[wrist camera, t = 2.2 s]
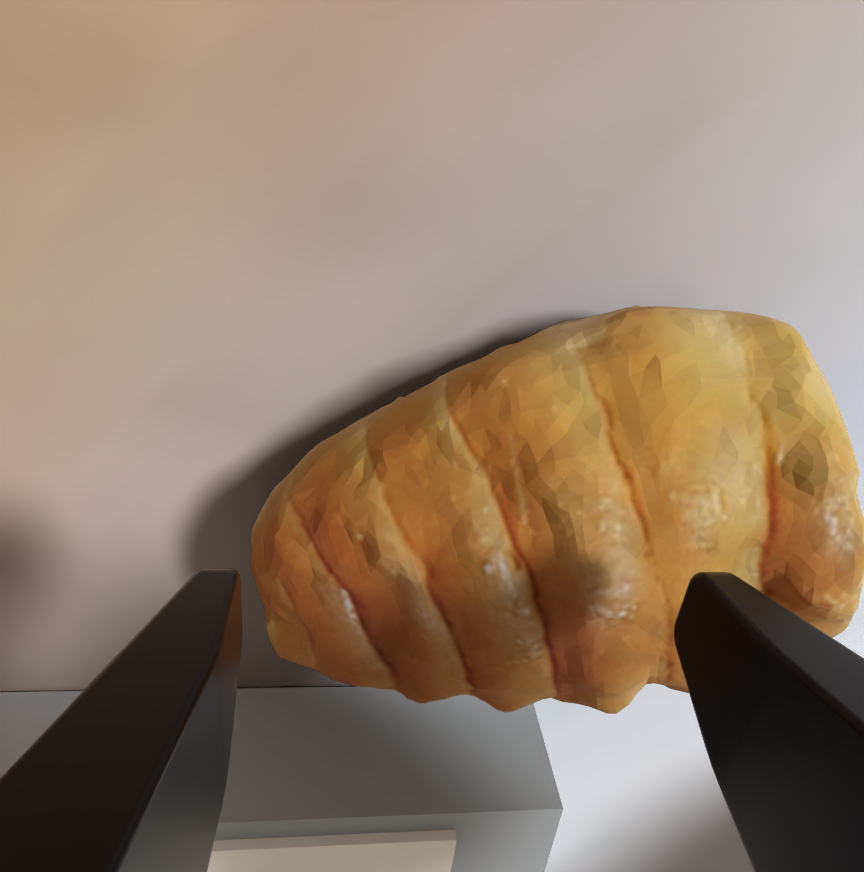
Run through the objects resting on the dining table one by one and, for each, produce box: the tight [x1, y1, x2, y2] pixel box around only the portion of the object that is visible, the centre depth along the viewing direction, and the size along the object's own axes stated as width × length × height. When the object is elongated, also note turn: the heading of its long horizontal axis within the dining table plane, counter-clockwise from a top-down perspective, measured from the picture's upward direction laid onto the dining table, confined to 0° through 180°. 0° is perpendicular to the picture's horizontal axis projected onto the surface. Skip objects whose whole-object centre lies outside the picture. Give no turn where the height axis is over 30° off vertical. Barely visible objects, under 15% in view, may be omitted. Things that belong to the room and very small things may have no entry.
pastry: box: [251, 306, 864, 714], centre depth 12 cm, size 9×7×4 cm
